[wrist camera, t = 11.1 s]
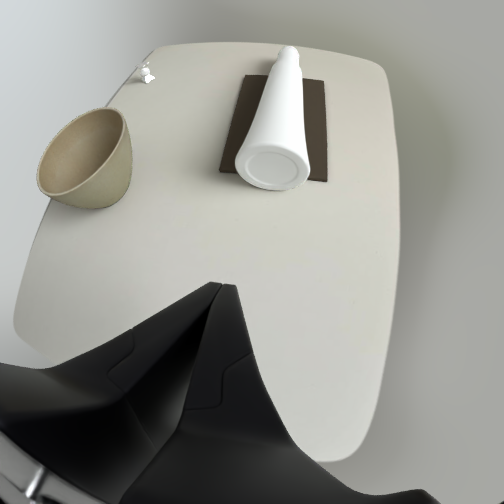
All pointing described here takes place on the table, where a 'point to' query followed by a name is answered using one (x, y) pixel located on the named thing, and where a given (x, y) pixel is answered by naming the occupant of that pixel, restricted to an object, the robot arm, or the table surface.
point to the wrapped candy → (144, 72)
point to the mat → (312, 124)
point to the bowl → (88, 161)
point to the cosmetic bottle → (277, 130)
